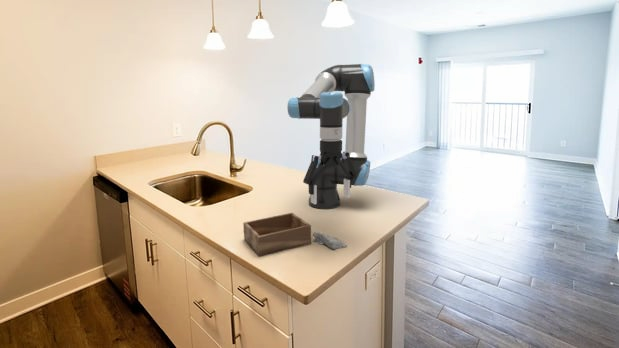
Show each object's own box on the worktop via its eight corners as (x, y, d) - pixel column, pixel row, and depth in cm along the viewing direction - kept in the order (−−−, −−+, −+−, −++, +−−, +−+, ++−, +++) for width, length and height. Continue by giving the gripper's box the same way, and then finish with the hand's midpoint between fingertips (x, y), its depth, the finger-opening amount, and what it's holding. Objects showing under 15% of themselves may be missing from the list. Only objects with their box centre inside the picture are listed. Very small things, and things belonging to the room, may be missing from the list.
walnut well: (244, 240, 129) (243, 222, 128) (292, 229, 139) (292, 212, 137) (259, 256, 117) (258, 237, 115) (311, 243, 126) (311, 225, 124)
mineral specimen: (324, 238, 133) (324, 227, 132) (348, 246, 124) (347, 235, 123) (311, 243, 128) (311, 232, 127) (335, 251, 119) (335, 239, 119)
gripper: (303, 143, 107) (304, 209, 112) (367, 138, 119) (365, 197, 124) (292, 140, 114) (293, 202, 119) (354, 135, 126) (353, 192, 131)
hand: (330, 200), depth 122 cm, fingers open, 13 cm apart
